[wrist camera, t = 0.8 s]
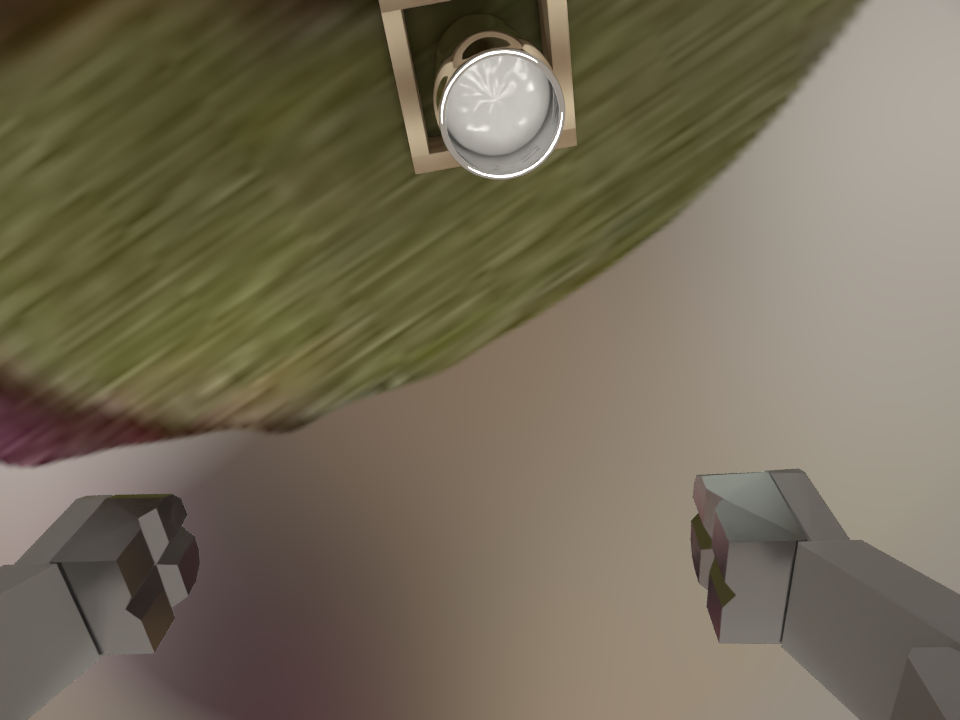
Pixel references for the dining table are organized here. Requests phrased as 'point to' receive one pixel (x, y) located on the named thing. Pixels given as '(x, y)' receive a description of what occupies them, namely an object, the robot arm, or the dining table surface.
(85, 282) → the dining table surface
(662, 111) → the dining table surface
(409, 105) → the sleeve
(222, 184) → the dining table surface
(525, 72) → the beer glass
